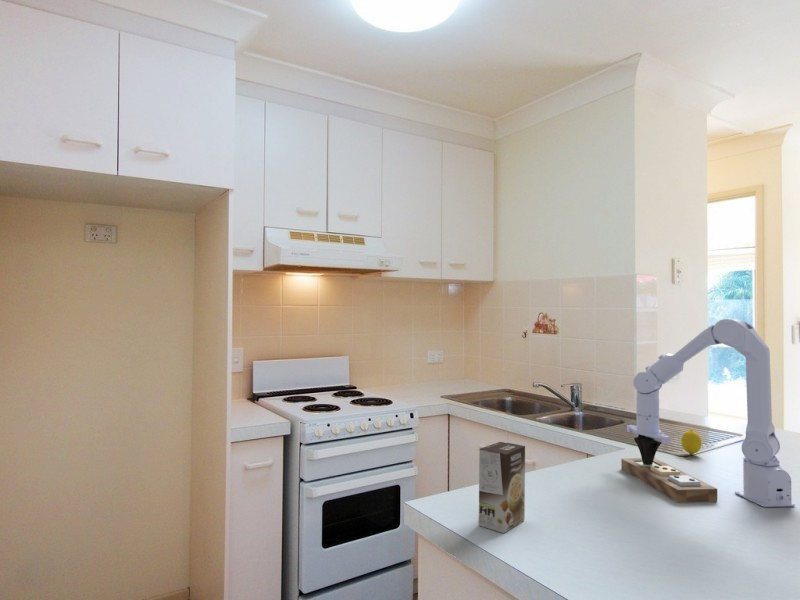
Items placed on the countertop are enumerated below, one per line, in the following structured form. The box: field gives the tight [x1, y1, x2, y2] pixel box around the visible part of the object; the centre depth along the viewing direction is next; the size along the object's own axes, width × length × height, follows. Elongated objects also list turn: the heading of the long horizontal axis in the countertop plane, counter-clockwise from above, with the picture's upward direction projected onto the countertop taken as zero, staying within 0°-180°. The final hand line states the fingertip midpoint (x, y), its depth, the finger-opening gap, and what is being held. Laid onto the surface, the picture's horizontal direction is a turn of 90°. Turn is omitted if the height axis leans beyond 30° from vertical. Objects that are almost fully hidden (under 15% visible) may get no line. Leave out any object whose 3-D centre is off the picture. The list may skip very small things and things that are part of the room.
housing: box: [620, 457, 718, 503], centre depth 136 cm, size 26×10×3 cm, turn 5°
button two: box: [668, 474, 701, 486], centre depth 128 cm, size 5×5×3 cm
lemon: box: [681, 429, 702, 456], centre depth 164 cm, size 6×6×8 cm
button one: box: [636, 462, 659, 467], centre depth 144 cm, size 5×5×3 cm
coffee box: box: [478, 441, 526, 534], centre depth 110 cm, size 9×6×16 cm
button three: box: [650, 465, 681, 476], centre depth 136 cm, size 5×5×3 cm
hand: (647, 463), depth 144 cm, fingers closed, pressing on button one
